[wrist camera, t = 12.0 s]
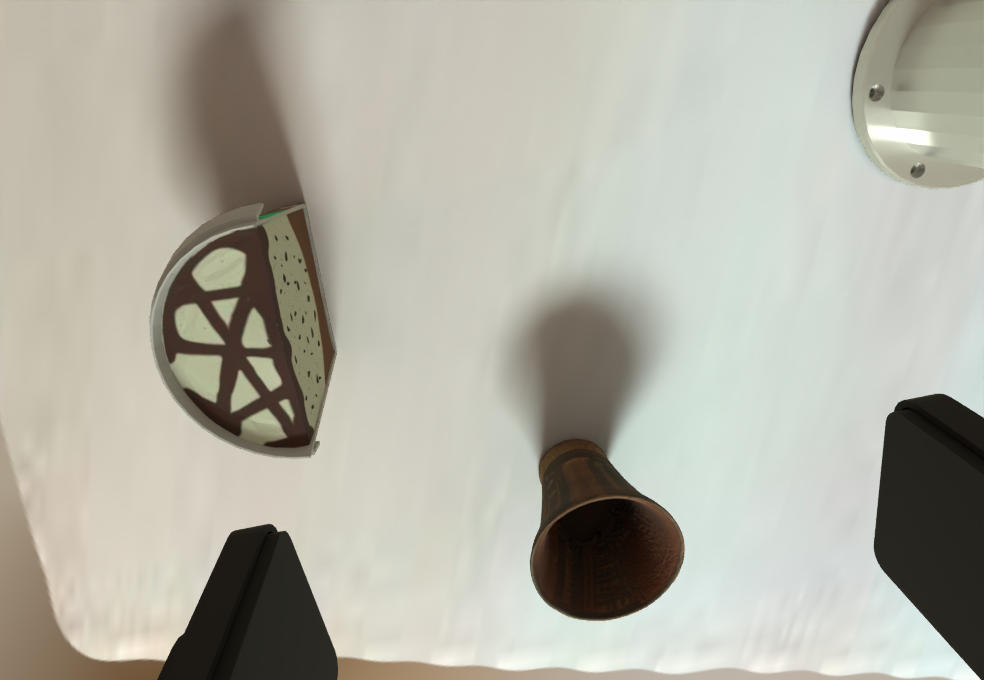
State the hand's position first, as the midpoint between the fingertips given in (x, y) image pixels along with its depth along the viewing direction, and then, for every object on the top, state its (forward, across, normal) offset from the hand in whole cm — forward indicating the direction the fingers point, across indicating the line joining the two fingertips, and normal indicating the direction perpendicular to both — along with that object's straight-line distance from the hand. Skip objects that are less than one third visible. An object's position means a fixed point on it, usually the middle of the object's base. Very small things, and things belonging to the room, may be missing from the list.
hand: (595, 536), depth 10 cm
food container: (+28, +13, +3) cm, 31 cm away
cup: (+28, -3, +19) cm, 34 cm away
